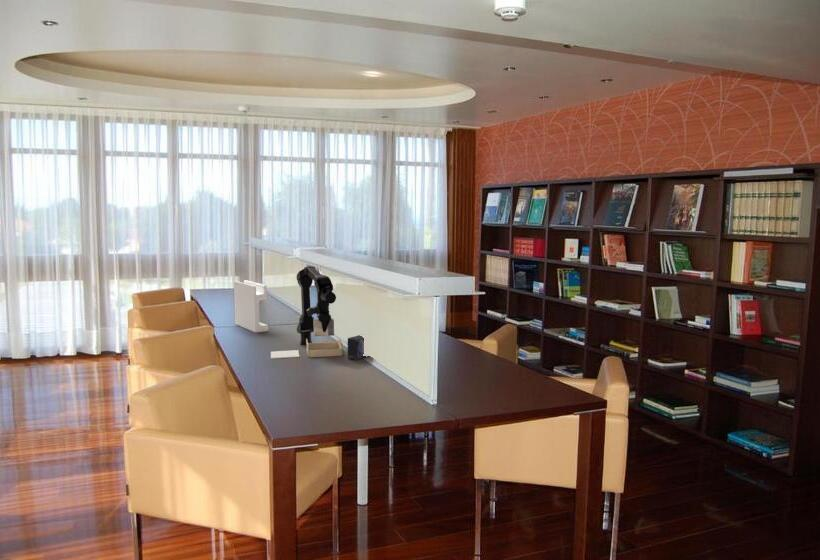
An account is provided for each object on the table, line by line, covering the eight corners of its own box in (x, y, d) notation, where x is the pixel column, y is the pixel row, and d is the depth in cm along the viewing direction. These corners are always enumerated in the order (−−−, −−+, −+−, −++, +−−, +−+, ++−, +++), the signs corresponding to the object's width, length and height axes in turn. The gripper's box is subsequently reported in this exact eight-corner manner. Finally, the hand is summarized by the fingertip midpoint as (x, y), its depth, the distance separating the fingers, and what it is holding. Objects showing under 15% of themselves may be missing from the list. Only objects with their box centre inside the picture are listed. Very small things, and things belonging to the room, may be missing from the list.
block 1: (235, 323, 410) (233, 280, 407) (247, 322, 414) (245, 279, 411) (255, 332, 381) (253, 286, 378) (268, 330, 386) (266, 285, 383)
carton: (306, 349, 334) (306, 338, 333) (339, 348, 338) (339, 336, 337) (308, 357, 317) (307, 345, 317) (343, 355, 321) (342, 343, 320)
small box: (356, 360, 310) (356, 339, 309) (347, 358, 314) (346, 338, 313) (371, 356, 319) (370, 335, 317) (361, 354, 322) (360, 334, 321)
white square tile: (270, 352, 329) (270, 351, 329) (298, 351, 332) (298, 350, 332) (270, 358, 315) (270, 357, 315) (299, 357, 318) (299, 356, 318)
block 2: (313, 334, 328) (313, 319, 327) (333, 333, 330) (332, 318, 329) (314, 336, 323) (314, 320, 322) (334, 335, 325) (333, 320, 324)
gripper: (306, 299, 332) (306, 328, 334) (308, 304, 314) (309, 335, 315) (327, 298, 334) (328, 327, 336) (330, 303, 316) (331, 334, 318)
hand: (323, 331), depth 326 cm, fingers closed on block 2, 5 cm apart
